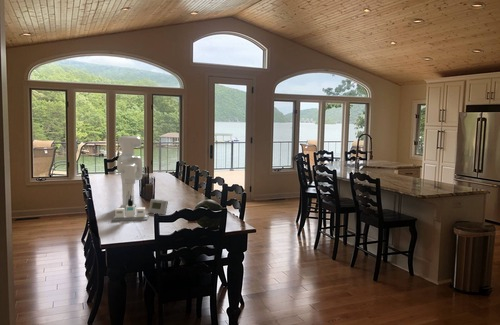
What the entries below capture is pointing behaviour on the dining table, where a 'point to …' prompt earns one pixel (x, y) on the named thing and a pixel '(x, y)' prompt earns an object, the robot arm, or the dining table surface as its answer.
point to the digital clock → (158, 206)
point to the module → (130, 211)
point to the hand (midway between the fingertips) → (130, 205)
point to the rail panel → (122, 217)
